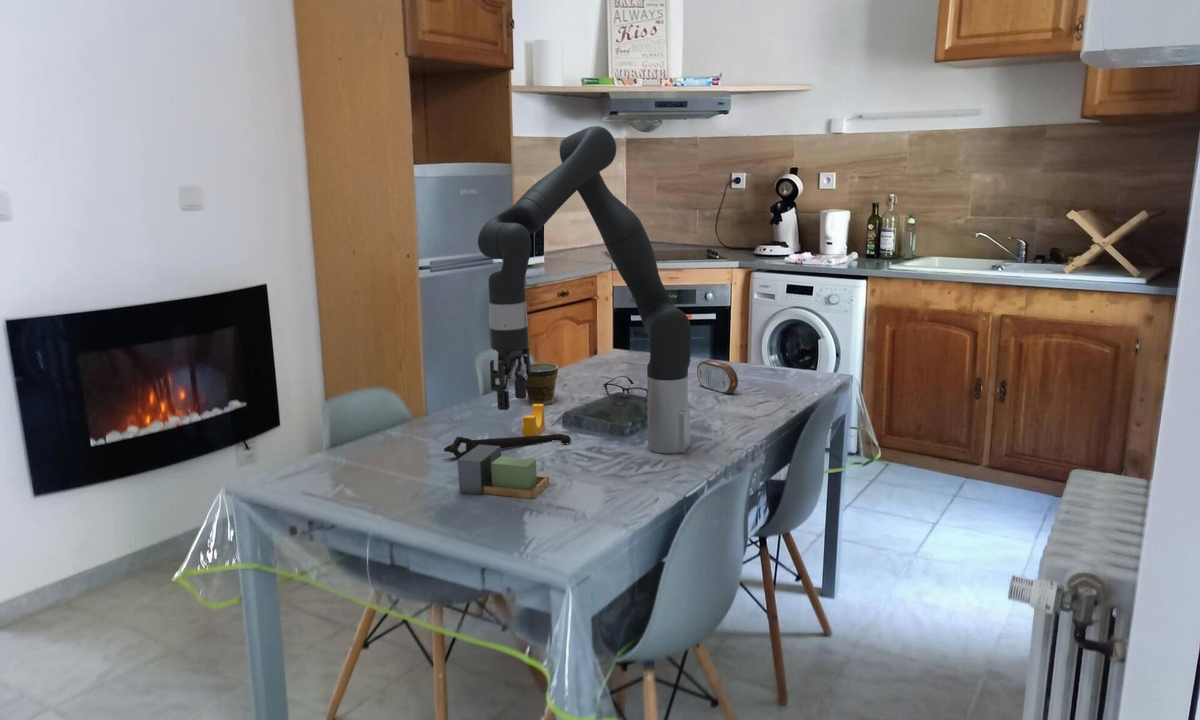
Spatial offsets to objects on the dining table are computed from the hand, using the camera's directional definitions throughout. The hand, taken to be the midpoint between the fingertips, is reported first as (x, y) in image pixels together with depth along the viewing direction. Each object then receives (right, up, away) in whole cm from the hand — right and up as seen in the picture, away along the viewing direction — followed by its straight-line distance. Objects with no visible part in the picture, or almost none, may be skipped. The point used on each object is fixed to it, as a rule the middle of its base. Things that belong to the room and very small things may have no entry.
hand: (512, 403), depth 178 cm
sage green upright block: (0, -18, +4) cm, 18 cm away
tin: (+51, 0, +76) cm, 91 cm away
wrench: (-3, -13, +27) cm, 30 cm away
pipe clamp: (+1, -10, +39) cm, 40 cm away
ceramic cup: (0, -3, +68) cm, 68 cm away
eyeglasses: (+29, -1, +76) cm, 81 cm away
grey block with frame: (-2, -18, +5) cm, 18 cm away
